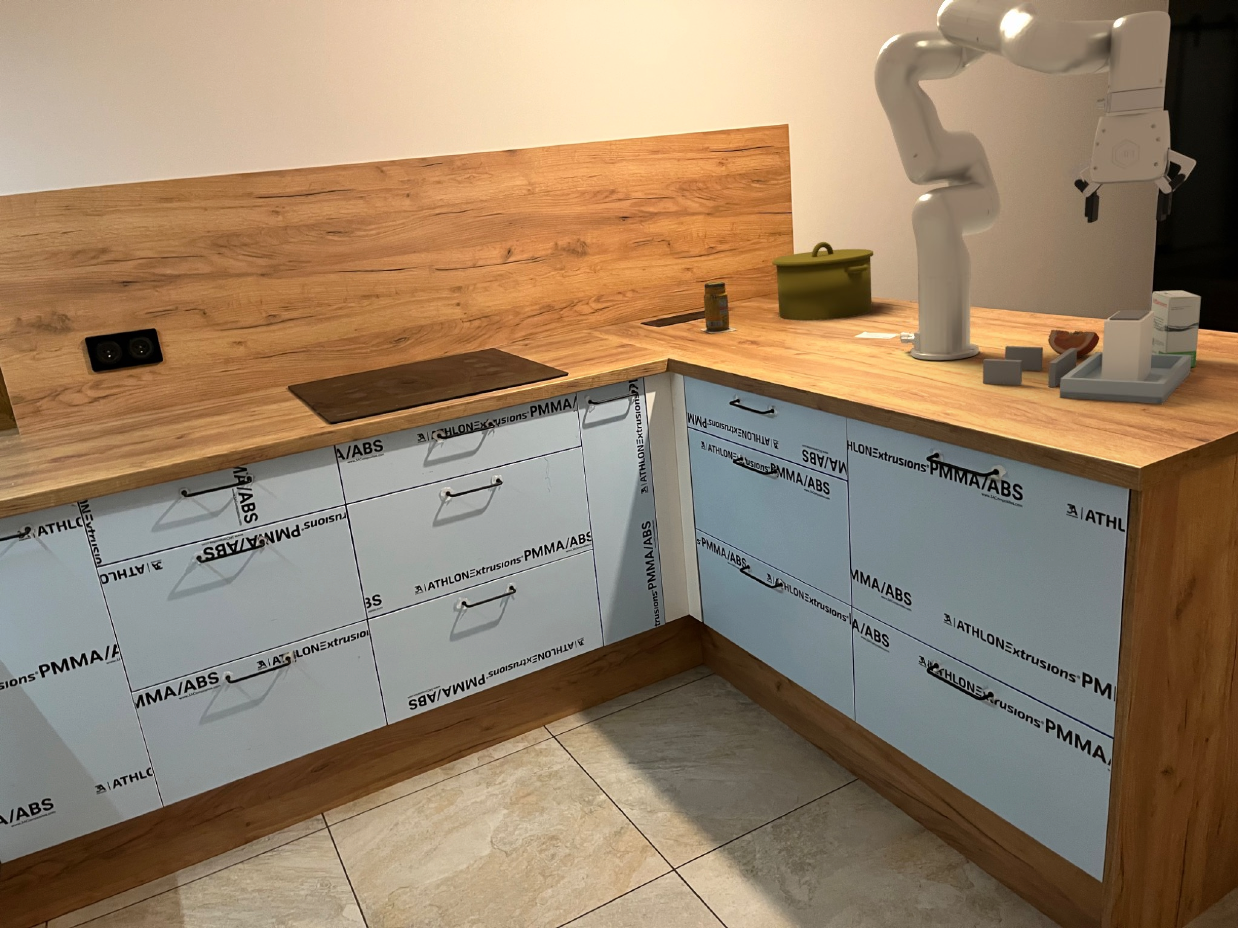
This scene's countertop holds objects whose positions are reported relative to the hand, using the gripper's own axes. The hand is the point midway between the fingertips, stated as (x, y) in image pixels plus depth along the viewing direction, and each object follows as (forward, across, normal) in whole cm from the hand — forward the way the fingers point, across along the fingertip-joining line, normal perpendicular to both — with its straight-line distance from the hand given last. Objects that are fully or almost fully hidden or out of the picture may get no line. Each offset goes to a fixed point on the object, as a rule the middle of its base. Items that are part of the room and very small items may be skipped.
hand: (1125, 221), depth 143 cm
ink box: (+25, +6, +12) cm, 29 cm away
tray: (+25, +3, -5) cm, 26 cm away
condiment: (+28, -100, +28) cm, 107 cm away
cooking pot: (+28, -85, +55) cm, 105 cm away
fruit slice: (+26, -10, +14) cm, 31 cm away
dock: (+25, -12, -3) cm, 28 cm away
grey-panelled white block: (+24, +3, -5) cm, 25 cm away
